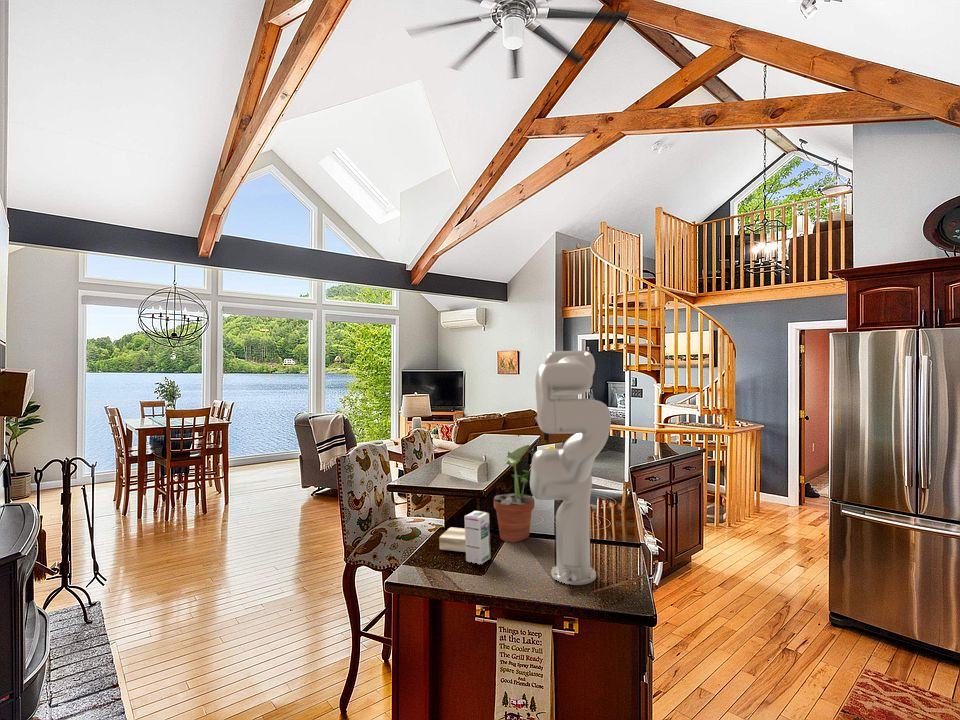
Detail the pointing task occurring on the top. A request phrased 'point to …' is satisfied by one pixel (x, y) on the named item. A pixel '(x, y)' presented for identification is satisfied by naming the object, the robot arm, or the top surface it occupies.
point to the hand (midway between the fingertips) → (562, 442)
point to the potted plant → (514, 505)
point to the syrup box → (477, 537)
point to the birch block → (453, 540)
